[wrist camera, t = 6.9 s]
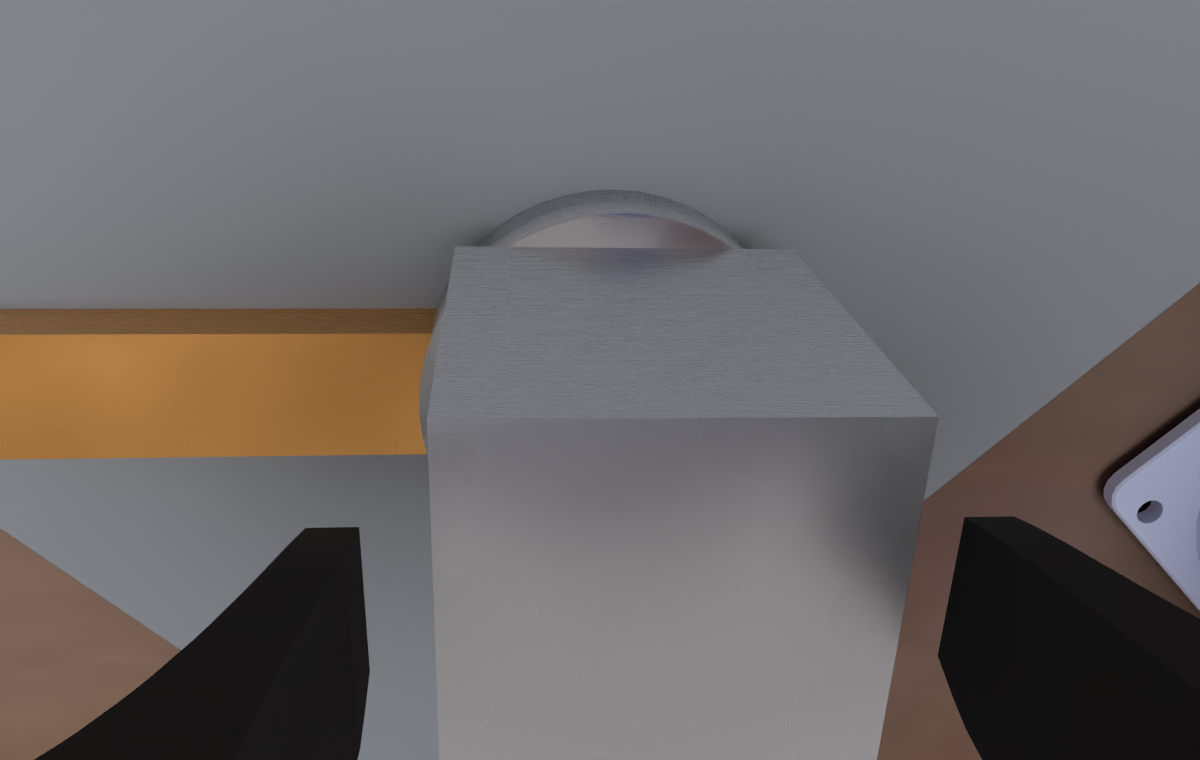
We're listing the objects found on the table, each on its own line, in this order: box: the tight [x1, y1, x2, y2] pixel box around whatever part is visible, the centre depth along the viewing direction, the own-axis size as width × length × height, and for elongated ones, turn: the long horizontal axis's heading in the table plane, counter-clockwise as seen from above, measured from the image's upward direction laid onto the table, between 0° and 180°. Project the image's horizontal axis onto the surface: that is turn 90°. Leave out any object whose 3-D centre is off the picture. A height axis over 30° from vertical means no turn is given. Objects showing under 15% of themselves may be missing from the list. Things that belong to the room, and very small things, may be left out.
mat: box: [0, 0, 1200, 760], centre depth 18 cm, size 19×22×1 cm
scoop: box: [0, 190, 745, 460], centre depth 16 cm, size 14×6×5 cm, turn 88°
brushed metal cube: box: [427, 246, 939, 760], centre depth 14 cm, size 5×5×6 cm
